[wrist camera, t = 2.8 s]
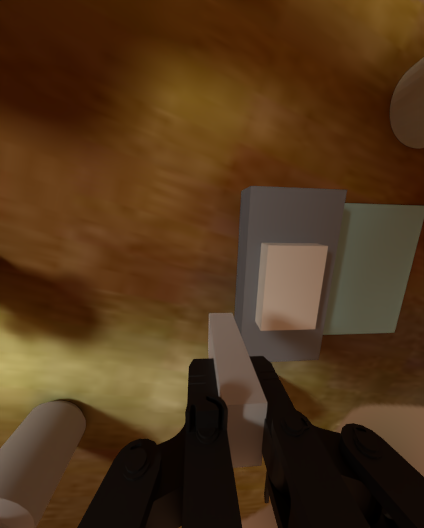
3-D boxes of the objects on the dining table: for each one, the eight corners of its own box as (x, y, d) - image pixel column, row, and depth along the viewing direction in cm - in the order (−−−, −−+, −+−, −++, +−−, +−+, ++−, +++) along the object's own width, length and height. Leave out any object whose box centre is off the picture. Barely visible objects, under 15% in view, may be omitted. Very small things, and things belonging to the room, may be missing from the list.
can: (44, 387, 27) (-68, 516, 16) (98, 407, 29) (33, 538, 17) (23, 428, 28) (-95, 576, 17) (76, 444, 30) (1, 591, 18)
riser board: (241, 190, 24) (250, 186, 20) (322, 194, 24) (346, 189, 21) (233, 342, 28) (239, 363, 24) (301, 340, 29) (318, 359, 25)
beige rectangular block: (261, 242, 21) (268, 245, 19) (316, 243, 22) (328, 246, 20) (255, 321, 23) (260, 330, 21) (305, 319, 24) (315, 329, 22)
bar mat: (321, 202, 25) (322, 202, 24) (424, 205, 26) (427, 205, 26) (302, 334, 29) (303, 335, 28) (392, 331, 30) (394, 332, 30)
